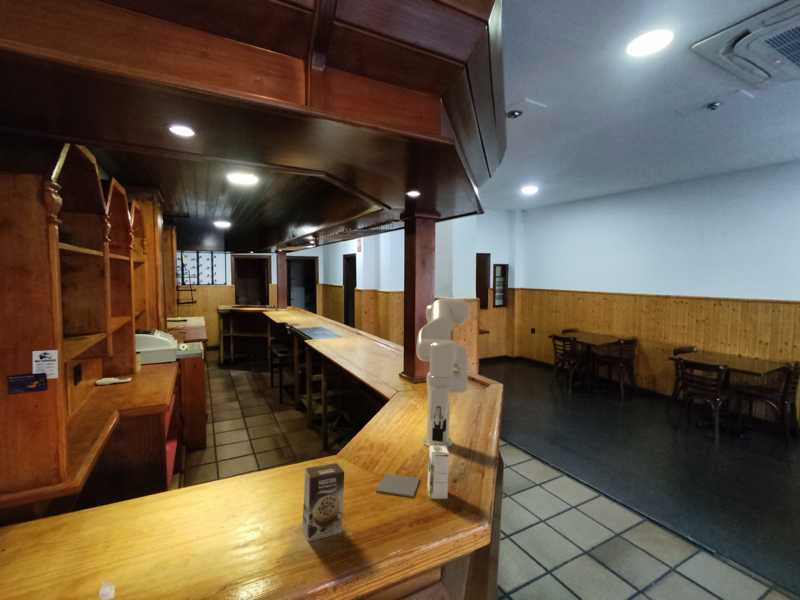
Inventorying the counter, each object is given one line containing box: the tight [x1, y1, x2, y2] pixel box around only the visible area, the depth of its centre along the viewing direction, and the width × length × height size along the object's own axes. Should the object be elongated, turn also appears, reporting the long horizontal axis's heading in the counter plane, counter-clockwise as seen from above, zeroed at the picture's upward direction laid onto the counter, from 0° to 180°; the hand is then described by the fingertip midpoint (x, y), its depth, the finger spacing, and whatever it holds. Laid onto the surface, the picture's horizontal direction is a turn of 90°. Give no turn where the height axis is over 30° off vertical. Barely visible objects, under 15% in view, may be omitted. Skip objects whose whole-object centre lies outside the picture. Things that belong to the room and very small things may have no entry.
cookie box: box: [302, 462, 345, 542], centre depth 99 cm, size 9×6×16 cm
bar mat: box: [375, 473, 421, 498], centre depth 124 cm, size 12×12×1 cm
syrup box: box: [426, 446, 450, 500], centre depth 119 cm, size 6×6×14 cm
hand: (439, 435), depth 119 cm, fingers open, 9 cm apart
